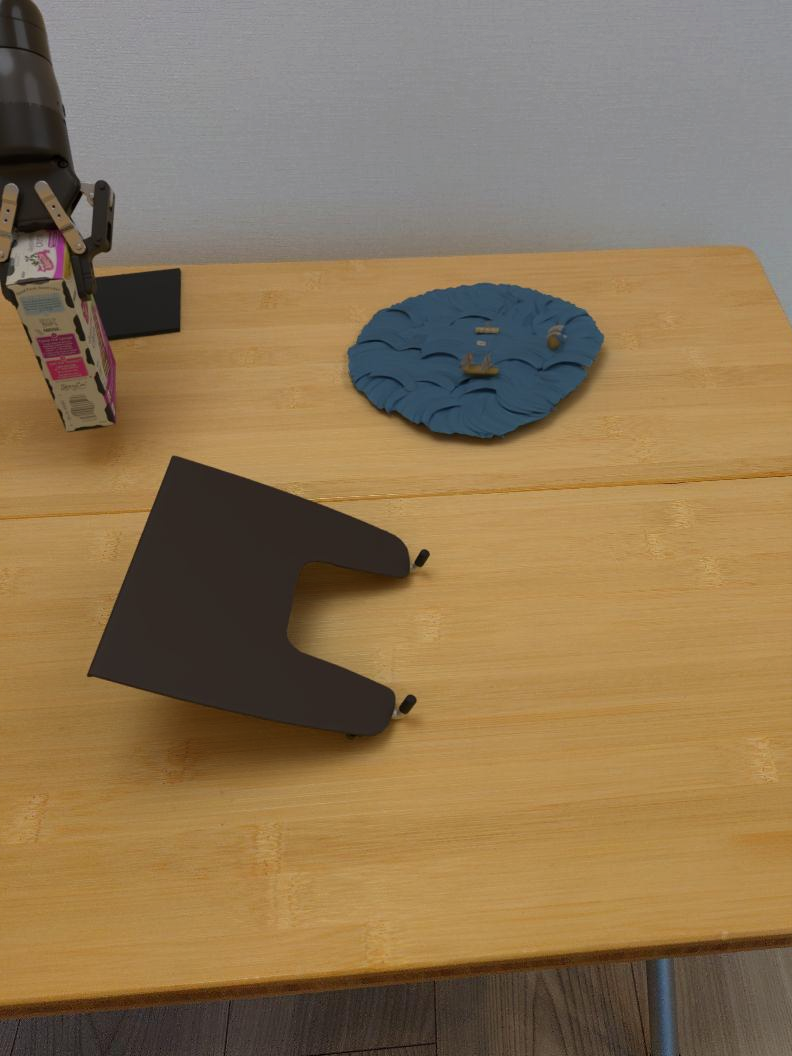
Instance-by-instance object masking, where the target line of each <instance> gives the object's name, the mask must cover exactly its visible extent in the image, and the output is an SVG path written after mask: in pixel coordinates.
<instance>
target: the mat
mask: <svg viewBox="0 0 792 1056" xmlns="http://www.w3.org/2000/svg"><path fill="white" fill-rule="evenodd" d="M95 280H96V286H97V290H96V294H93V297H94V301H95V303H96V306H97V309H98V312H99V315H100V318H101V321H102V324H103V327H104V329H105V332H106V335H107V338H108V341H115V340H122V339H129V338H132V339H133V338H138V337H146V336H154V335H156V336H157V335H164V334H172V333H179V332H181V299H182V298H181V297H182V296H181V295H182V294H181V293H182V289H181V288H182V271H181V268H180V267H176V268H175V267H174V268H165V269H157V270H149V271H147V270H146V271H139V272H131V273H130V272H129V273H121V274H120V273H119V274H113V275H104V276H95Z"/></svg>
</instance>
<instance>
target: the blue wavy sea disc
mask: <svg viewBox="0 0 792 1056" xmlns="http://www.w3.org/2000/svg"><path fill="white" fill-rule="evenodd" d="M604 340H605V334H604V333H602V331H601V330H600V329H599V327H598V326H597V321H596V320H594V318H593V317H592V316H591V315H590V314H589V312H588V311H587V309H584V308H581V307H578V306H577V305H576V303H572V302H570V300H564V299H563V298H561V297H559V296H558V297H555V296H553V295H551V294H546V293H543V292H540V291H538V290H537V289H532V288H530V287H522V286H520V285H517V284H511V283H509V284H506V283H501V282H500V283H499V284H495V283H491V282H477V283H473V284H472V285H471V284H469V285H467V284H461V285H459V286H456V287H454V286H450V287H446V288H435V289H433V290H427V291H426V292H424V293H422V294H418V295H416V296H410V297H407V298H405V299H404V300H402V301H401V302H397V303H395V304H391V306H389V307H385V308H382V309H379V310H378V311H376V313H374V314H373V315H372V318H371V319H370V320H369V322H368V323H367V324H365V325H364V326H363V327H362V329H361V331H360V334H358V335H357V336H356V342H355V344H353V345H351V346H350V347H348V348H347V357H348V363H347V367H348V371H349V377H353V378H352V381H351V383H352V384H353V385H354V386H355V387H356V389H357V390H358V391H359V392H363V393H364V394H365V396H366V397H367V399H368V400H369V401H370V402H371V403H372V404H373V405H374V407H377V408H378V410H382V409H383V408H384V409H385V411H386V413H387V415H390V414H391V411H396V412H397V413H399V414H401V415H402V416H403V417H404V418H406V419H408V420H409V421H410V422H412V423H415V424H417V425H419V424H420V423H423V425H425V426H426V427H427V428H429V430H430V431H431V432H436V433H444V434H447V435H452V434H455V433H457V434H461V435H467V436H472V437H478V438H481V439H484V438H487V439H492V437H493V436H494V435H495V436H497V437H500V438H502V439H503V438H505V436H504V435H505V434H507V433H509V432H513V431H515V430H517V428H519V427H520V426H524V425H526V424H529V423H532V422H536V421H538V420H543V419H544V418H545V417H548V416H549V415H550V412H551V411H556V410H558V409H559V407H554V406H555V405H556V404H557V405H558V403H559V402H560V401H561V400H565V398H566V397H568V395H569V394H571V393H572V392H573V391H575V390H576V389H577V388H578V387H579V385H581V384H582V383H583V382H584V380H585V379H586V377H587V375H588V374H589V372H588V371H586V369H584V367H587V368H590V367H591V366H592V364H593V362H595V361H596V360H595V359H597V355H598V354H599V352H601V349H602V346H603V344H604ZM583 366H584V367H583Z"/></svg>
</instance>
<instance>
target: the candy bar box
mask: <svg viewBox="0 0 792 1056" xmlns="http://www.w3.org/2000/svg"><path fill="white" fill-rule="evenodd" d="M16 232H18V234H20V235H21V236H20V238H19V239H18V240H17V241H13V245H12V250H11V256H10V262H9V268H8V274H7V281H6V286H7V288H8V290H9V293H10V295H11V298H12V300H13V302H14V305H15V306H14V307H15V310H16V312H17V315H18V317H19V319H20V321H21V324H22V327H23V329H24V331H25V334H26V336H27V339H28V342H29V345H30V346H31V349H32V352H33V354H34V357H35V358H36V360H37V363H38V366H39V368H40V371H41V373H42V377H43V378H44V381H45V383H46V385H47V388H48V391H49V393H50V395H51V397H52V400H53V403H54V406H55V408H56V411H57V412H58V415H59V417H60V420H61V422H62V424H63V427H64V430H65V432H66V433H75V432H76V433H77V432H82V431H89V430H97V429H105V428H109V427H114V426H116V425H117V362H116V359H115V356H114V353H113V350H112V347H111V344H110V340H108V338H107V335H106V332H105V329H104V327H103V324H102V321H101V318H100V315H99V312H98V309H97V306H96V303H95V301H94V297H93V294H91V298H92V300H91V301H85V302H83V301H82V300H81V299H80V298H79V296H78V293H77V288H76V283H75V279H74V273H73V268H72V262H71V256H74V255H73V250H72V249H71V247H70V245H69V244H68V242H67V240H66V239H65V237H64V235H63V234H62V232H61V231H60V230H47V229H41V230H38V231H35V232H29V233H24V232H19V231H16Z"/></svg>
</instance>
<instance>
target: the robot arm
mask: <svg viewBox="0 0 792 1056" xmlns="http://www.w3.org/2000/svg"><path fill="white" fill-rule="evenodd" d="M46 26H47V25H46V23H45V20H44V17H43V14H42V12H41V10H40V9H39V7H38V5H37V4H36V3H35V2H34V1H33V0H0V290H1V294H2V296H3V297H4V299H5V300H6V301H7V302H9V303H10V304H11V305H12V306H13V307H15V305H14V302H13V300H12V298H11V295H10V293H9V290H8V288H7V286H6V281H7V274H8V268H9V262H10V256H11V250H12V245H13V241H17V240H18V239H19V238H20V236H21V235H20V234H18V232H16V231H19V232H24V233H29V232H35V231H38V230H41V229H47V230H60V231H61V232H62V234H63V235H64V237H65V239H66V240H67V242H68V244H69V245H70V247H71V249H72V250H73V255H74V256H71V262H72V268H73V273H74V279H75V283H76V288H77V293H78V296H79V298H80V299H81V300H82V301H83V302H85V301H91V300H92V298H91V294H96V290H97V286H96V280H95V277H96V274H95V270H94V265H93V263H94V262H93V261H94V259H95V257H96V256H97V255H100V254H102V253H104V254H106V253H109V252H111V250H112V248H113V233H114V221H115V220H114V219H115V206H116V205H115V204H116V193H115V192H114V190H113V188H112V187H111V185H110V184H109V183H108V182H107V181H106V180H104V179H99V180H97V181H96V182H89V181H82V180H80V178H79V177H78V176H77V174H76V171H75V167H74V161H73V155H72V150H71V149H72V148H71V143H70V137H69V132H68V126H67V120H66V117H67V115H66V114H67V113H66V108H65V105H64V103H63V98H62V94H61V89H60V87H59V82H58V80H57V77H56V74H55V68H54V65H53V59H52V53H51V47H50V42H49V37H48V36H49V35H48V30H47V27H46ZM83 196H85V197H86V201H87V203H88V204H89V205H90V207H92V218H91V232H90V236H89V237H86V238H84V236H83V234H82V232H81V230H80V229H79V227H78V225H77V224H76V222H75V220H74V219H73V217H72V215H73V213H74V211H75V210H76V209H77V206H78V204H79V202H80V201H81V199H82V197H83Z"/></svg>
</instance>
